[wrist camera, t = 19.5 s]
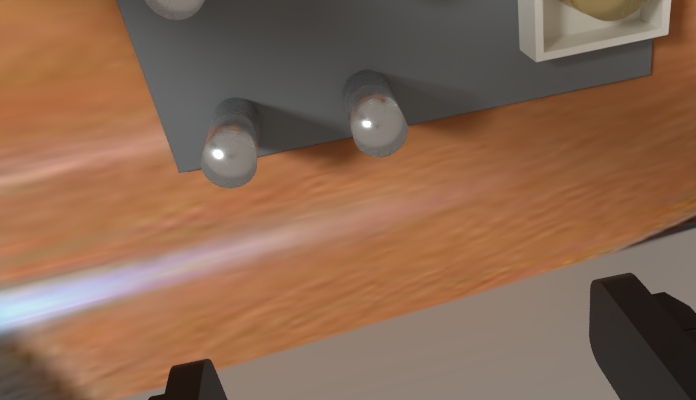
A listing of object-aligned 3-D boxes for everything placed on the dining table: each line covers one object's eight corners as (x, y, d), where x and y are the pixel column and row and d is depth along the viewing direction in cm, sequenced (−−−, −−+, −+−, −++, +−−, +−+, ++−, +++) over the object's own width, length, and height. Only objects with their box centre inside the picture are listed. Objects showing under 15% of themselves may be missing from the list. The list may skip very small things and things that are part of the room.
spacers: (156, -56, 35) (130, -40, 29) (359, -99, 35) (376, -92, 29) (220, 145, 42) (210, 192, 35) (392, 109, 41) (410, 151, 35)
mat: (93, -71, 35) (90, -70, 34) (664, -191, 35) (669, -192, 34) (180, 169, 43) (179, 173, 42) (646, 72, 42) (650, 74, 42)
